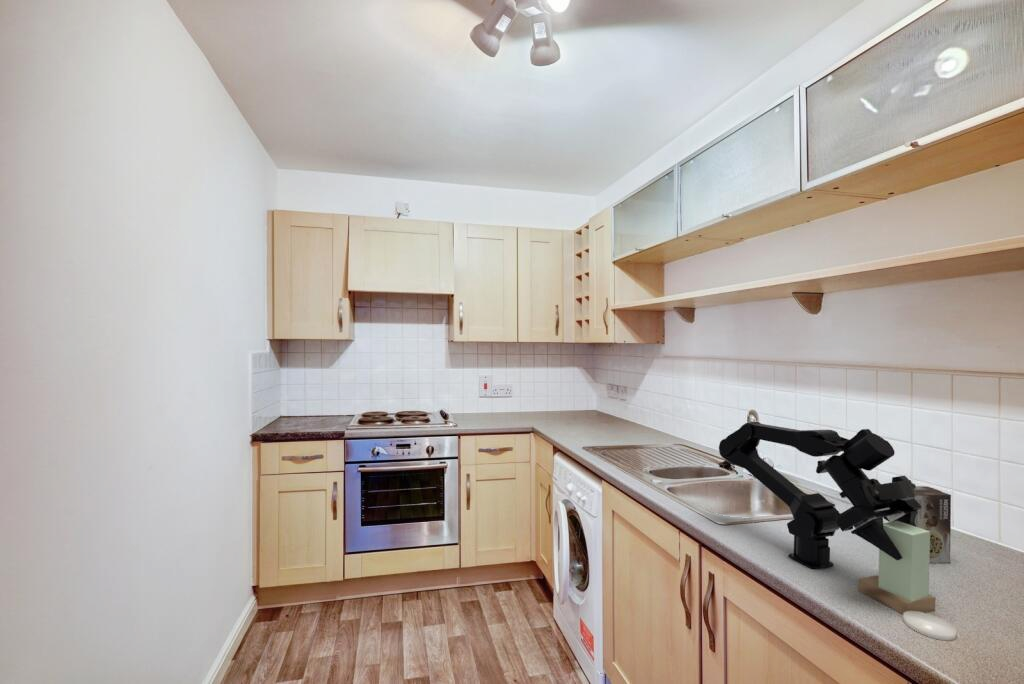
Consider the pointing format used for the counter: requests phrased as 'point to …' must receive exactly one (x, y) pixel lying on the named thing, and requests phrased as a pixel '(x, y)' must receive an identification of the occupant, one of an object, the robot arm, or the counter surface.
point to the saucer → (929, 625)
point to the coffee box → (935, 521)
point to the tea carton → (906, 562)
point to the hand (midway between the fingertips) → (912, 556)
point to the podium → (894, 597)
